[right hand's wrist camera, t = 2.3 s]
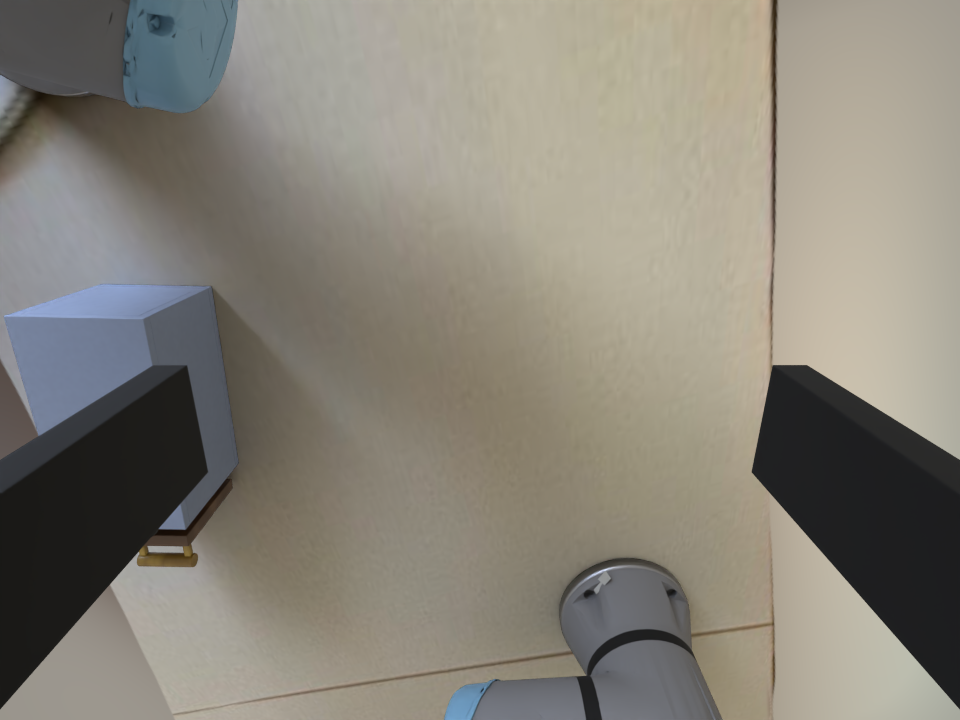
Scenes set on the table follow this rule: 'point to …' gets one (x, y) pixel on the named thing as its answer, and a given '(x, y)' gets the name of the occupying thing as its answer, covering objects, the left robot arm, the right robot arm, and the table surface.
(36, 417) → the cabinet
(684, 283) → the table surface
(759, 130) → the table surface
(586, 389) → the table surface
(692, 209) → the table surface
